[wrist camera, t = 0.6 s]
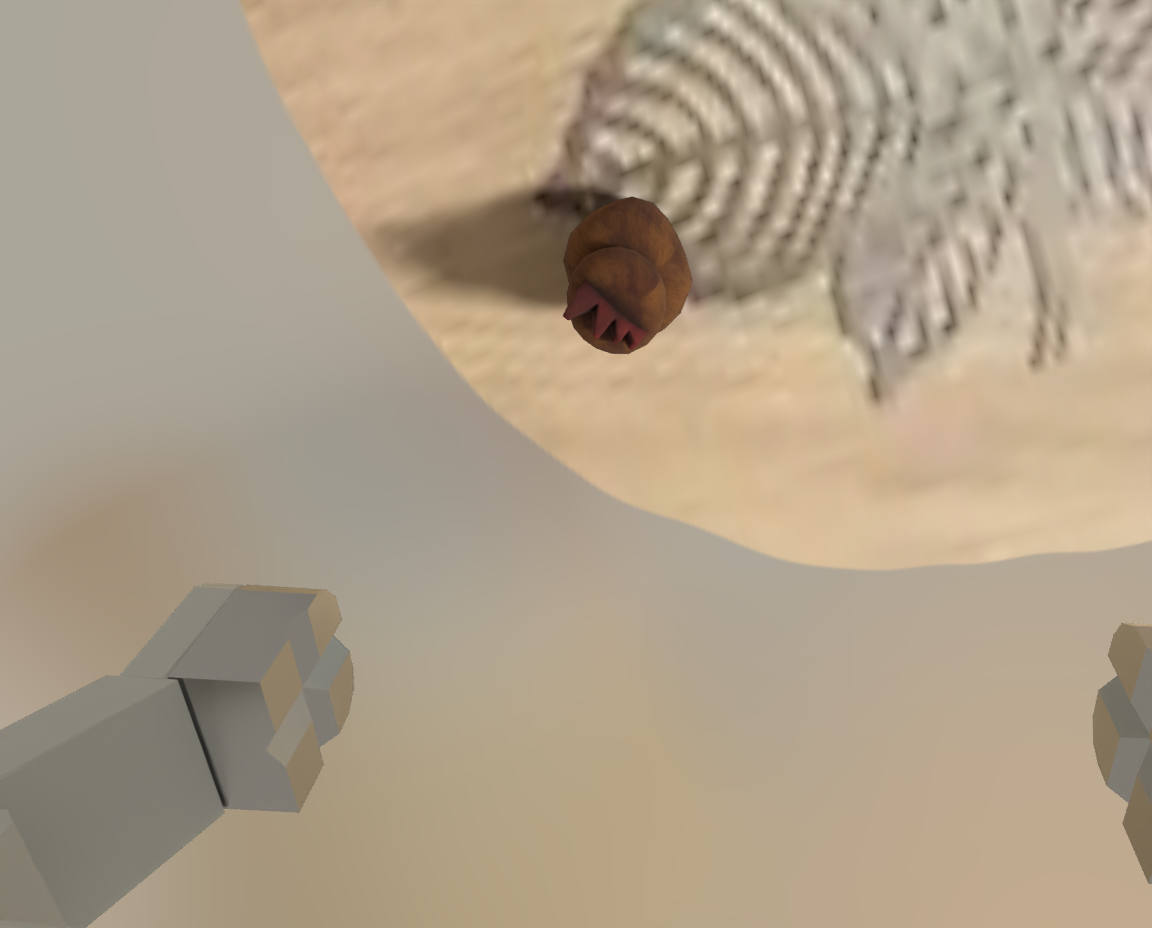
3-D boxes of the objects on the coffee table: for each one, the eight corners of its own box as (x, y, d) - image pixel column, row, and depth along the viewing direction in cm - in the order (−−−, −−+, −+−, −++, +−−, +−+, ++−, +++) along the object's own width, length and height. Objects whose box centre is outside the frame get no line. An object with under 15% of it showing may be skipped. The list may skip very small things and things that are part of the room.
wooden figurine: (561, 215, 52) (501, 305, 39) (653, 166, 50) (622, 243, 37) (619, 319, 55) (580, 436, 42) (709, 276, 53) (698, 384, 40)
